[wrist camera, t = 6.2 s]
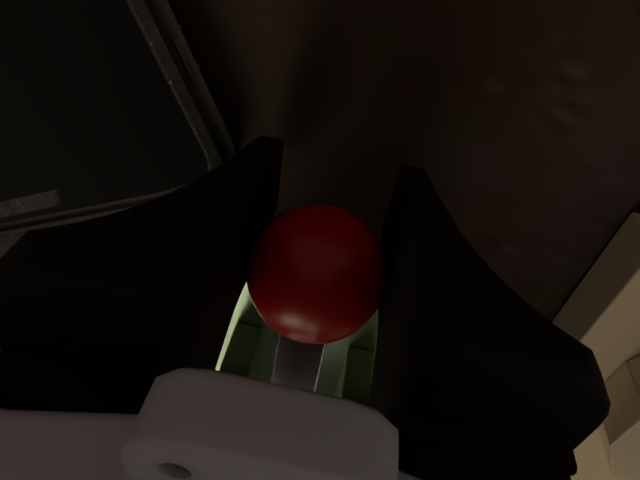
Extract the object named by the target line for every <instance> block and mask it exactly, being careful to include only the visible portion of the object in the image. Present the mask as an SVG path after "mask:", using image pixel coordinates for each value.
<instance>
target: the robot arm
mask: <svg viewBox="0 0 640 480" xmlns="http://www.w3.org/2000/svg"><path fill="white" fill-rule="evenodd" d="M283 146H284V140H281V139H276V138H272V137H267V136H262V135H261V136H260V137H258V138H257V139H255V140H254V141H252V142H251V143H250V144H248V145H247V146H246V147H244V148H243V149H241V150H240V151H239V152H237V153H236V154H235V155H233V156H232V157H230V158H229V159H228V160H226V161H225V162H223V163H222V164H220V165H219V166H217V167H216V168H214V169H213V170H211V171H209V172H208V173H206V174H204V175H203V176H201V177H199V178H198V179H196V180H194V181H193V182H191V183H189V184H187V185H185V186H183V187H181V188H179V189H177V190H175V191H172V192H170V193H168V194H166V195H164V196H161V197H159V198H156V199H154V200H151V201H148V202H145V203H143V204H140V205H137V206H134V207H131V208H129V209H126V210H123V211H119V212H116V213H112V214H109V215H105V216H101V217H97V218H93V219H89V220H85V221H80V222H76V223H70V224H65V225H59V226H53V227H48V228H42V229H36V230H29V231H28V232H27V233H26V234H24V235H23V236H22V237H21V238H20V239H19V240H18V241H17V242H16V243H15V244H14V245H13V246H12V247H11V248H10V249H9V250H8V251H7V252H6V253H5V254H4V256H3V257H2V258H1V259H0V348H1V350H2V351H1V352H0V480H571V476H574V475H575V474H576V473H577V469H578V467H577V463H576V459H575V455H574V451H573V450H574V449H575V448H576V447H578V446H579V445H580V444H581V443H582V442H583V441H584V440H585V439H586V438H587V437H588V436H589V435H591V434H592V433H593V432H594V431H595V430H596V429H597V428H598V427H599V426H600V425H601V424H602V422H603V421H604V420H605V419H606V417H607V416H608V414H609V410H610V405H611V402H610V399H609V396H608V393H607V390H606V387H605V383H604V380H603V377H602V373H601V370H600V368H599V365H598V363H597V360H596V358H595V356H594V353H593V351H592V350H591V349H590V348H588V347H587V346H585V345H584V344H582V343H581V342H579V341H578V340H576V339H575V338H574V337H572V336H571V335H569V334H568V333H566V332H565V331H563V330H562V329H560V328H559V327H557V326H556V325H554V324H553V323H552V322H550V321H549V320H548V319H546V318H545V317H544V316H543V315H541V314H540V313H539V312H538V311H536V310H535V309H534V308H533V307H531V306H530V305H529V304H528V303H526V302H525V301H524V300H523V299H522V298H521V297H520V296H518V295H517V294H516V293H515V292H514V291H513V290H512V289H511V288H510V287H509V286H508V285H507V284H506V283H504V282H503V281H502V280H501V279H500V278H499V277H498V276H497V275H496V274H495V273H494V272H493V271H492V270H491V269H490V267H489V266H488V265H487V264H486V263H485V262H484V261H483V259H482V258H481V257H480V256H479V255H478V254H477V253H476V251H475V250H474V249H473V248H472V246H471V245H470V244H469V243H468V241H467V240H466V238H465V237H464V236H463V234H462V233H461V231H460V230H459V229H458V227H457V226H456V224H455V223H454V221H453V219H452V218H451V216H450V215H449V213H448V211H447V210H446V208H445V206H444V204H443V203H442V201H441V199H440V197H439V195H438V193H437V192H436V190H435V188H434V186H433V184H432V182H431V180H430V178H429V176H428V174H427V172H426V171H425V169H422V168H417V167H413V166H408V165H403V164H401V166H400V170H399V173H398V176H397V180H396V183H395V186H394V190H393V193H392V196H391V200H390V203H389V206H388V210H387V213H386V217H385V220H384V223H383V228H382V235H381V242H380V245H381V248H382V250H383V253H384V257H385V261H386V270H387V274H386V286H385V291H384V294H383V298H382V300H381V302H380V304H379V306H378V331H377V344H376V352H375V360H374V369H373V377H372V384H371V392H370V400H369V407H368V406H365V405H363V404H360V403H358V402H355V401H352V400H350V399H345V398H340V397H336V396H331V395H327V394H322V393H318V392H313V391H308V390H304V389H299V388H295V387H290V386H285V385H281V384H276V383H272V382H267V381H263V380H258V379H253V378H249V377H244V376H240V375H235V374H230V373H226V372H221V371H217V370H215V369H216V366H217V363H218V359H219V356H220V353H221V350H222V347H223V344H224V340H225V337H226V334H227V331H228V328H229V325H230V322H231V319H232V316H233V313H234V310H235V307H236V305H237V302H238V300H239V297H240V295H241V292H242V290H243V288H244V286H245V284H246V282H247V279H246V270H247V261H248V257H249V253H250V250H251V247H252V245H253V243H254V241H255V239H256V238H257V236H258V234H259V233H260V232H261V230H262V229H263V228H264V227H265V226H266V225H267V224H268V223H269V222H270V221H271V220H272V219H273V217H274V213H275V210H276V207H277V203H278V194H279V185H280V175H281V165H282V156H283ZM570 475H571V476H570Z"/></svg>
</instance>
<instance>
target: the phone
mask: <svg viewBox="0 0 640 480" xmlns="http://www.w3.org/2000/svg"><path fill="white" fill-rule="evenodd" d="M235 154H236V147H235V143H234V140H233V136H232V134H231V132H230V130H229V128H228V126H227V123H226V121H225V119H224V117H223V115H222V112H221V110H220V108H219V106H218V104H217V102H216V99H215V97H214V95H213V93H212V91H211V88H210V86H209V84H208V82H207V80H206V78H205V75H204V73H203V71H202V69H201V67H200V64H199V62H198V60H197V58H196V56H195V54H194V51H193V49H192V47H191V45H190V43H189V40H188V38H187V36H186V34H185V32H184V30H183V27H182V25H181V23H180V21H179V19H178V16H177V14H176V12H175V10H174V8H173V6H172V3H171V1H170V0H0V237H5V236H10V235H16V234H21V233H27V232H28V231H29V230H36V229H42V228H48V227H53V226H59V225H65V224H70V223H76V222H80V221H85V220H89V219H93V218H97V217H101V216H105V215H109V214H112V213H116V212H119V211H123V210H126V209H129V208H131V207H134V206H137V205H140V204H143V203H145V202H148V201H151V200H154V199H156V198H159V197H161V196H164V195H166V194H168V193H170V192H172V191H175V190H177V189H179V188H181V187H183V186H185V185H187V184H189V183H191V182H193V181H194V180H196V179H198V178H199V177H201V176H203V175H204V174H206V173H208V172H209V171H211V170H213V169H214V168H216V167H217V166H219V165H220V164H222V163H223V162H225V161H226V160H228V159H229V158H230V157H232V156H233V155H235Z"/></svg>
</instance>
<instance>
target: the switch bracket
mask: <svg viewBox="0 0 640 480" xmlns="http://www.w3.org/2000/svg"><path fill="white" fill-rule="evenodd" d="M377 331H378V308H377V310H376V312H375V313H374V315H373V316H372V318H371V319H370V320H369V321H368V322H367V323H366V324H365V325H364V326H363V327H362V328H361V329H359V330H358V331H356V332H355V333H354V334H352V335H350V336H348V337H346V338H344V339H342V340H339V341H336V342H332V343H327V344H326V347H325V352H324V356H323V361H322V366H321V370H320V375H319V379H318V384H317V388H316V392H318V393H322V394H327V395H331V396H336V397H340V398H345V399H350V400H352V401H355V402H358V403H360V404H363V405H365V406H368V407H369V400H370V392H371V384H372V377H373V369H374V360H375V352H376V344H377ZM278 337H279V333H278V332H276V331H275V330H274V329H272V328H271V327H270V326H269V325H268V324H267V323H266V322H265V321H264V320H263V319H262V318H261V316H260V315H259V314H258V312H257V310H256V309H255V307H254V305H253V303H252V300H251V298H250V295H249V291H248V287H247V282H246V284H245V286H244V288H243V290H242V292H241V295H240V297H239V300H238V302H237V305H236V307H235V310H234V313H233V316H232V319H231V322H230V325H229V328H228V331H227V334H226V337H225V340H224V344H223V347H222V350H221V353H220V356H219V359H218V363H217V366H216V369H215V370H217V371H221V372H226V373H230V374H235V375H240V376H244V377H249V378H253V379H258V380H263V381H267V382H270V379H271V374H272V369H273V363H274V358H275V353H276V348H277V343H278Z"/></svg>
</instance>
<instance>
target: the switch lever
mask: <svg viewBox="0 0 640 480" xmlns="http://www.w3.org/2000/svg"><path fill="white" fill-rule="evenodd" d="M386 274H387V270H386V261H385V257H384V253H383V250H382V248H381V245H380V243H379V241H378V240H377V238H376V236H375V234H374V233H373V232H372V230H371V229H370V228H369V227H368V226H367V225H366V224H365V223H364V222H363V221H362V220H361V219H360V218H358V217H357V216H356V215H354V214H352V213H351V212H349V211H347V210H345V209H342V208H340V207H336V206H333V205H328V204H305V205H300V206H296V207H293V208H291V209H288V210H286V211H284V212H283V213H281V214H279V215H277V216H276V217H275V218H273V219H272V220H271V221H270V222H269V223H268V224H267V225H266V226H265V227H264V228H263V229H262V230H261V232H260V233H259V234H258V236H257V238H256V239H255V241H254V243H253V245H252V247H251V250H250V253H249V257H248V261H247V270H246V279H247V287H248V291H249V295H250V298H251V300H252V303H253V305H254V307H255V309H256V310H257V312H258V314H259V315H260V316H261V318H262V319H263V320H264V321H265V322H266V323H267V324H268V325H269V326H270V327H271V328H272V329H274V330H275V331H276V332H278V333H279V337H278V343H277V348H276V353H275V358H274V363H273V369H272V374H271V379H270V382H272V383H276V384H281V385H285V386H290V387H295V388H299V389H304V390H308V391H313V392H316V388H317V384H318V379H319V375H320V370H321V366H322V361H323V356H324V352H325V347H326V344H327V343H332V342H336V341H339V340H342V339H344V338H346V337H348V336H350V335H352V334H354V333H355V332H356V331H358V330H359V329H361V328H362V327H363V326H364V325H365V324H366V323H367V322H368V321H369V320H370V319H371V318H372V316H373V315H374V313H375V312H376V310H377V308H378V306H379V304H380V302H381V300H382V298H383V294H384V291H385V286H386Z"/></svg>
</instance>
